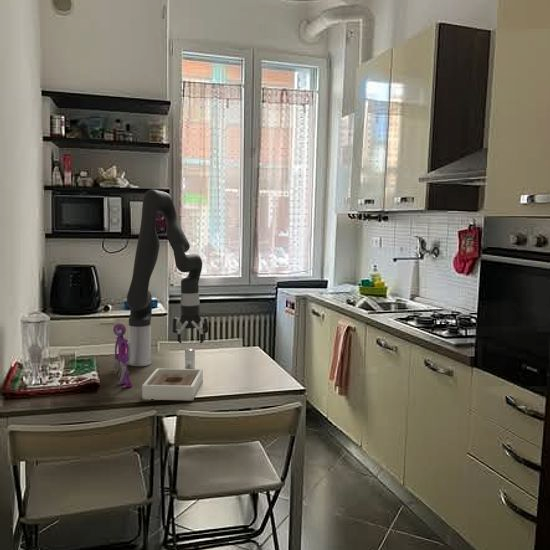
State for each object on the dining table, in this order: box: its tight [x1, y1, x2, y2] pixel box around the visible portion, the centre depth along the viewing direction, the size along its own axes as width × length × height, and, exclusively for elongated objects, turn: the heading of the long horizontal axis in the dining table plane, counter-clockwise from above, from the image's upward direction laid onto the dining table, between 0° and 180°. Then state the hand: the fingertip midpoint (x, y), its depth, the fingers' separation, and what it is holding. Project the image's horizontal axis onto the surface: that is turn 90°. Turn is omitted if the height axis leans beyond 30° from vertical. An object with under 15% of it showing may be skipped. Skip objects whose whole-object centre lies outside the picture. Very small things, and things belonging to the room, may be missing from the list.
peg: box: [184, 348, 196, 369], centre depth 232 cm, size 4×4×10 cm
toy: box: [112, 323, 133, 389], centre depth 213 cm, size 16×7×24 cm, turn 37°
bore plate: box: [151, 374, 196, 386], centre depth 211 cm, size 14×14×3 cm
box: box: [141, 367, 204, 401], centre depth 211 cm, size 18×22×5 cm
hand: (191, 342), depth 232 cm, fingers open, 8 cm apart
